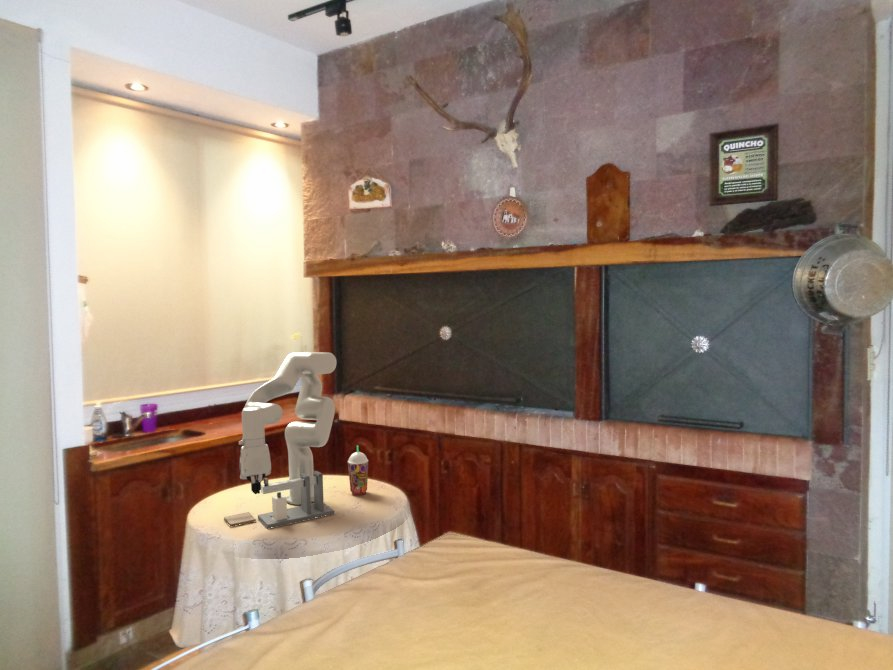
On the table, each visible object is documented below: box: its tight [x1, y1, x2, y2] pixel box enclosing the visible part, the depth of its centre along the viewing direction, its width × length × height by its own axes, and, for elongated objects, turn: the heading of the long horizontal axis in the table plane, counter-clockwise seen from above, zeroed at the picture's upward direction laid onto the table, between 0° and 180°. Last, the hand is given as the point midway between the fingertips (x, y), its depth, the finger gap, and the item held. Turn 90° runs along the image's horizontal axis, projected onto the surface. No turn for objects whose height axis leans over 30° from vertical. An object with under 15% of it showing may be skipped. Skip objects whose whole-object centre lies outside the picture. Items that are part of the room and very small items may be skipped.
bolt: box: [260, 475, 318, 495], centre depth 236 cm, size 3×22×5 cm, turn 123°
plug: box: [271, 491, 288, 521], centre depth 234 cm, size 5×5×10 cm
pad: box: [223, 511, 257, 527], centre depth 236 cm, size 9×9×1 cm
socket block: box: [257, 470, 335, 529], centre depth 239 cm, size 12×25×15 cm, turn 123°
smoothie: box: [347, 444, 369, 496], centre depth 264 cm, size 8×8×20 cm
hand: (256, 492), depth 230 cm, fingers closed
